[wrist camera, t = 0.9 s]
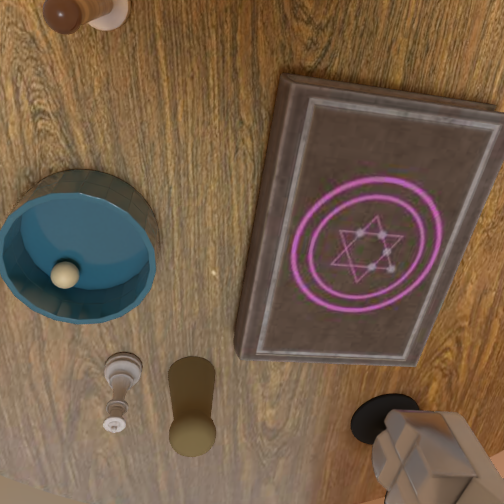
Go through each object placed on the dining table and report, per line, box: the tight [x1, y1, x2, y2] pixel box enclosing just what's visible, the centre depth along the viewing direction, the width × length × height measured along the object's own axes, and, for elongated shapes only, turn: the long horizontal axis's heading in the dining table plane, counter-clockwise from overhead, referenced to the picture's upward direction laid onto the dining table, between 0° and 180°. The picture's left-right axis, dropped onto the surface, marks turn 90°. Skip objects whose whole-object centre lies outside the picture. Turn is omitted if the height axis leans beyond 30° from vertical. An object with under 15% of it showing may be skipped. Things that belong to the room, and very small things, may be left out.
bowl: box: [0, 169, 159, 324], centre depth 47 cm, size 14×14×6 cm
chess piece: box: [103, 353, 142, 433], centre depth 54 cm, size 4×4×10 cm
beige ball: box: [51, 262, 79, 289], centre depth 49 cm, size 3×3×3 cm
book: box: [234, 73, 504, 367], centre depth 51 cm, size 30×22×5 cm
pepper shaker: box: [168, 357, 216, 457], centre depth 56 cm, size 6×6×11 cm
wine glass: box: [351, 394, 419, 504], centre depth 61 cm, size 10×10×20 cm
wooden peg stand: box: [43, 0, 131, 34], centre depth 32 cm, size 4×4×17 cm
